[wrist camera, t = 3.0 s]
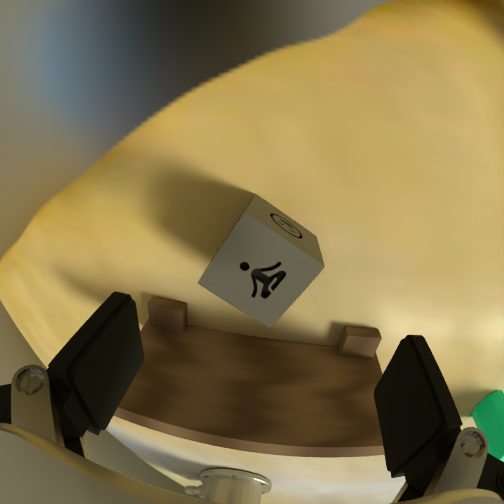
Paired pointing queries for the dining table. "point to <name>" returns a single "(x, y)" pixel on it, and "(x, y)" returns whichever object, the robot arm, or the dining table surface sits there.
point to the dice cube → (264, 263)
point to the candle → (492, 422)
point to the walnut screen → (256, 389)
